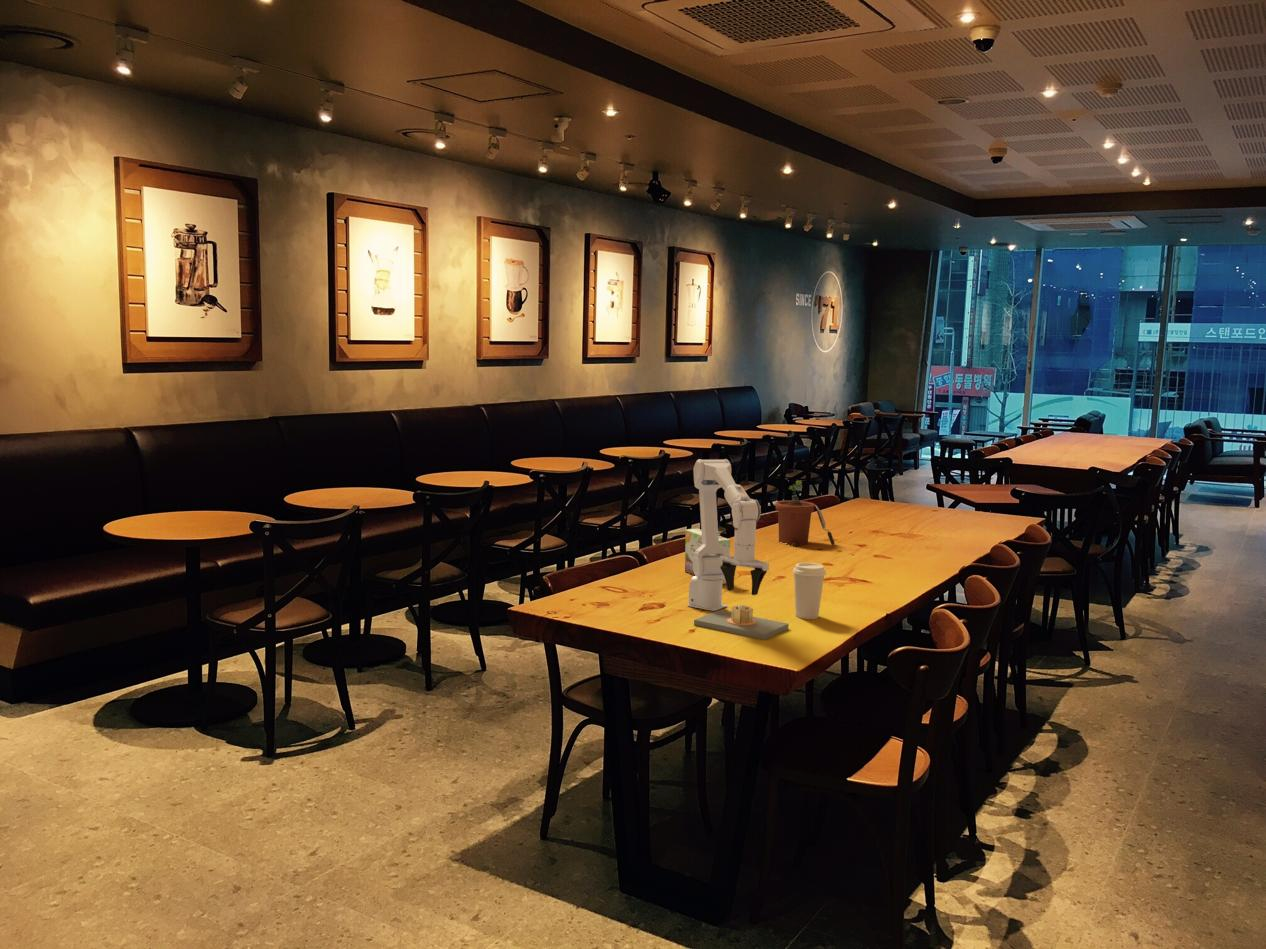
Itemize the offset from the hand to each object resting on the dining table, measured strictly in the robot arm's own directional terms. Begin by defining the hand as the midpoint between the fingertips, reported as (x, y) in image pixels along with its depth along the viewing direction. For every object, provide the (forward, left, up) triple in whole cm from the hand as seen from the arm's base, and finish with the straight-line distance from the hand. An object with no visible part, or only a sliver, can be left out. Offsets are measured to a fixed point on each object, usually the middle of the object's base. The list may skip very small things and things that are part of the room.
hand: (742, 592), depth 278 cm
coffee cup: (+9, +23, -10) cm, 27 cm away
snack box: (-39, +46, -10) cm, 61 cm away
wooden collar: (0, 0, -8) cm, 8 cm away
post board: (0, 0, -10) cm, 10 cm away
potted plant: (-43, +125, -10) cm, 133 cm away
